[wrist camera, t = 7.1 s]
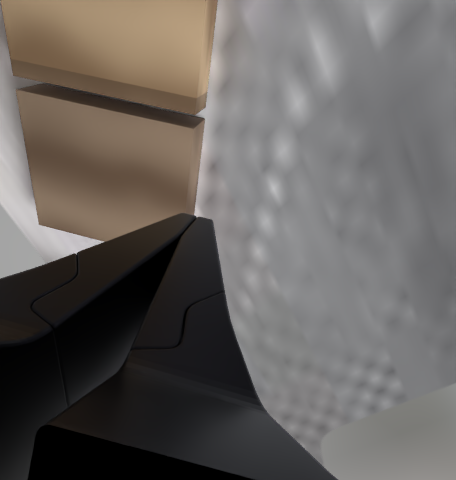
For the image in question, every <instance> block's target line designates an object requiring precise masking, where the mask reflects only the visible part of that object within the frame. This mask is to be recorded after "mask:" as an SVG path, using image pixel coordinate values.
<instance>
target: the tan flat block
mask: <svg viewBox="0 0 456 480" xmlns="http://www.w3.org/2000/svg"><path fill="white" fill-rule="evenodd" d="M16 94H17V100H18V106H19V112H20V117H21V123H22V129H23V135H24V140H25V146H26V152H27V158H28V163H29V169H30V175H31V181H32V186H33V192H34V198H35V204H36V210H37V215H38V221H39V225H42V226H46V227H50V228H54V229H58V230H62V231H66V232H69V233H73V234H77V235H81V236H85V237H89V238H93V239H97V240H100V241H104V242H106V241H109V240H111V239H114V238H116V237H119V236H122V235H124V234H127V233H129V232H132V231H135V230H137V229H140V228H143V227H145V226H148V225H150V224H153V223H156V222H158V221H161V220H163V219H166V218H169V217H171V216H174V215H177V214H179V213H187V214H191V215H194V210H195V202H196V193H197V184H198V175H199V167H200V158H201V149H202V140H203V132H204V123H205V119H203V118H198V117H194V116H189V115H184V114H180V113H175V112H171V111H166V110H161V109H157V108H152V107H148V106H143V105H138V104H134V103H129V102H125V101H120V100H115V99H111V98H106V97H102V96H97V95H92V94H88V93H83V92H79V91H74V90H69V89H65V88H60V87H56V86H51V85H46V84H38V85H34V86H29V87H25V88H20V89H16Z"/></svg>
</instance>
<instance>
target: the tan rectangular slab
mask: <svg viewBox="0 0 456 480" xmlns="http://www.w3.org/2000/svg"><path fill="white" fill-rule="evenodd" d="M217 2H218V0H1V6H2V12H3V18H4V24H5V30H6V36H7V42H8V47H9V53H10V59H11V65H12V71H13V76H18V77H22V78H27V79H32V80H36V81H41V82H46V83H50V84H55V85H59V86H64V87H69V88H73V89H78V90H82V91H87V92H92V93H96V94H101V95H105V96H110V97H115V98H119V99H124V100H128V101H133V102H138V103H142V104H147V105H152V106H156V107H161V108H165V109H170V110H175V111H179V112H184V113H188V114H193V115H196V114H197V113H198V112H200V111H201V110H202V109H204V108H205V107H206V98H207V89H208V80H209V72H210V63H211V54H212V45H213V37H214V28H215V19H216V10H217Z"/></svg>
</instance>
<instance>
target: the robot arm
mask: <svg viewBox="0 0 456 480" xmlns="http://www.w3.org/2000/svg"><path fill="white" fill-rule="evenodd" d="M0 480H338V479H337V478H335V477H334V476H333V475H331V473H329V472H328V471H327V470H326V469H325V468H324V467H323V466H322V465H321V464H320V463H319V462H318V461H317V460H316V459H315V458H314V457H313V456H312V455H311V454H310V453H308V452H307V451H306V450H305V449H304V448H303V447H302V446H301V445H300V444H299V443H298V442H297V441H296V440H295V439H294V438H293V437H292V436H291V435H290V434H289V433H288V432H287V431H285V430H284V429H283V428H282V427H281V426H280V425H279V424H278V423H277V422H276V421H275V420H274V419H273V418H272V417H271V416H270V415H269V414H268V412H267V411H266V410H265V408H264V407H263V405H262V403H261V401H260V399H259V397H258V395H257V393H256V390H255V388H254V385H253V383H252V380H251V377H250V374H249V372H248V369H247V366H246V363H245V361H244V358H243V355H242V352H241V350H240V347H239V344H238V342H237V339H236V336H235V333H234V329H233V326H232V323H231V320H230V315H229V311H228V306H227V301H226V295H225V290H224V284H223V278H222V272H221V266H220V260H219V254H218V248H217V242H216V236H215V230H214V224H213V221H212V220H211V219H207V218H203V217H196V216H194V215H191V214H187V213H179V214H177V215H174V216H171V217H169V218H166V219H163V220H161V221H158V222H156V223H153V224H150V225H148V226H145V227H143V228H140V229H137V230H135V231H132V232H129V233H127V234H124V235H122V236H119V237H116V238H114V239H111V240H109V241H106V242H103V243H101V244H98V245H95V246H93V247H90V248H87V249H85V250H82V251H80V252H78V253H77V255H76V254H72V255H69V256H66V257H64V258H61V259H58V260H56V261H53V262H50V263H47V264H44V265H42V266H39V267H36V268H33V269H30V270H26V271H23V272H20V273H17V274H14V275H11V276H7V277H4V278H1V279H0Z"/></svg>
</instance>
